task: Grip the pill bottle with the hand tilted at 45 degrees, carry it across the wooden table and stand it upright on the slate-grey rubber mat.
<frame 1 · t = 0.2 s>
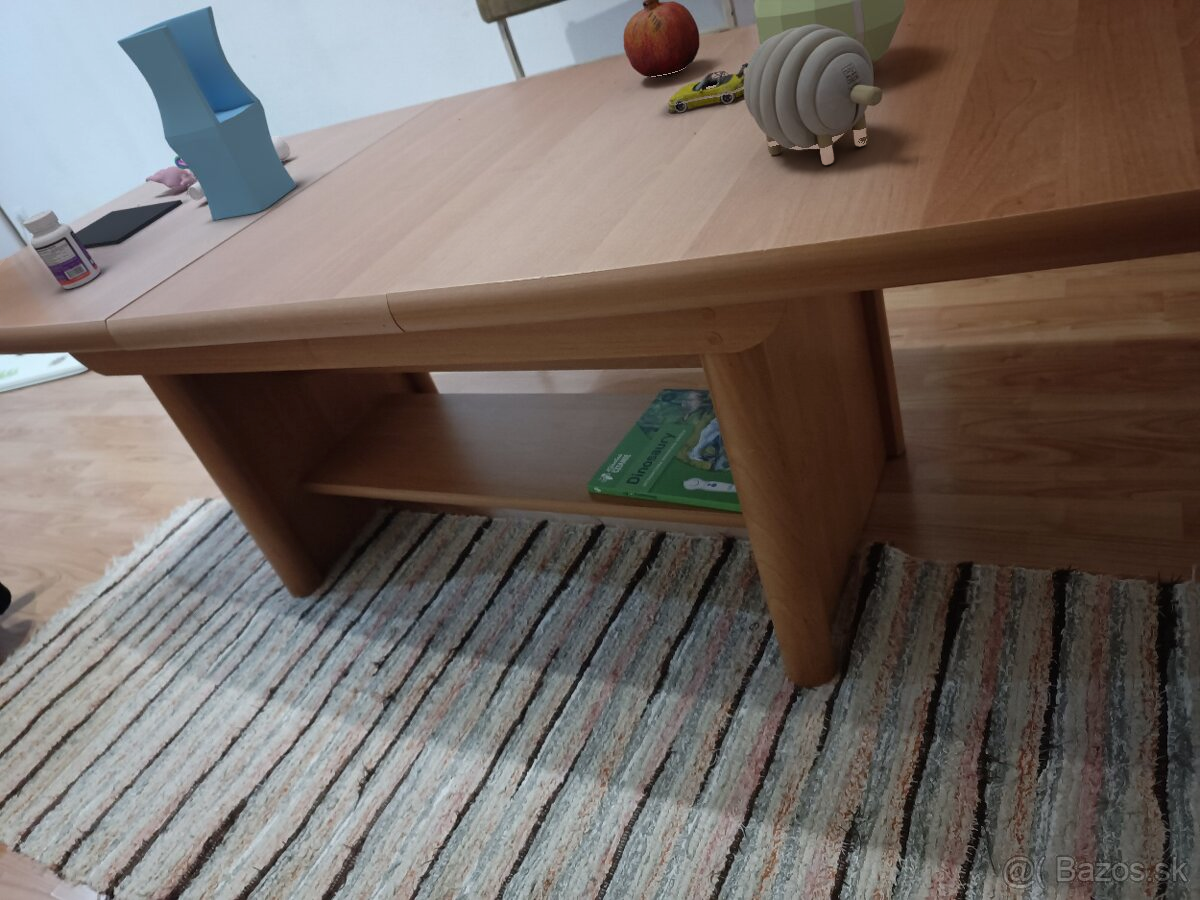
binoculars: (245, 183, 141), on the table
pill bottle: (83, 281, 122), on the table
mat: (116, 228, 142), on the table
toy car: (709, 102, 104), on the table
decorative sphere: (836, 80, 97), on the table
vase: (258, 202, 129), on the table
toy sheep: (817, 154, 82), on the table
pink figurine: (188, 189, 150), on the table
fruit: (669, 77, 118), on the table
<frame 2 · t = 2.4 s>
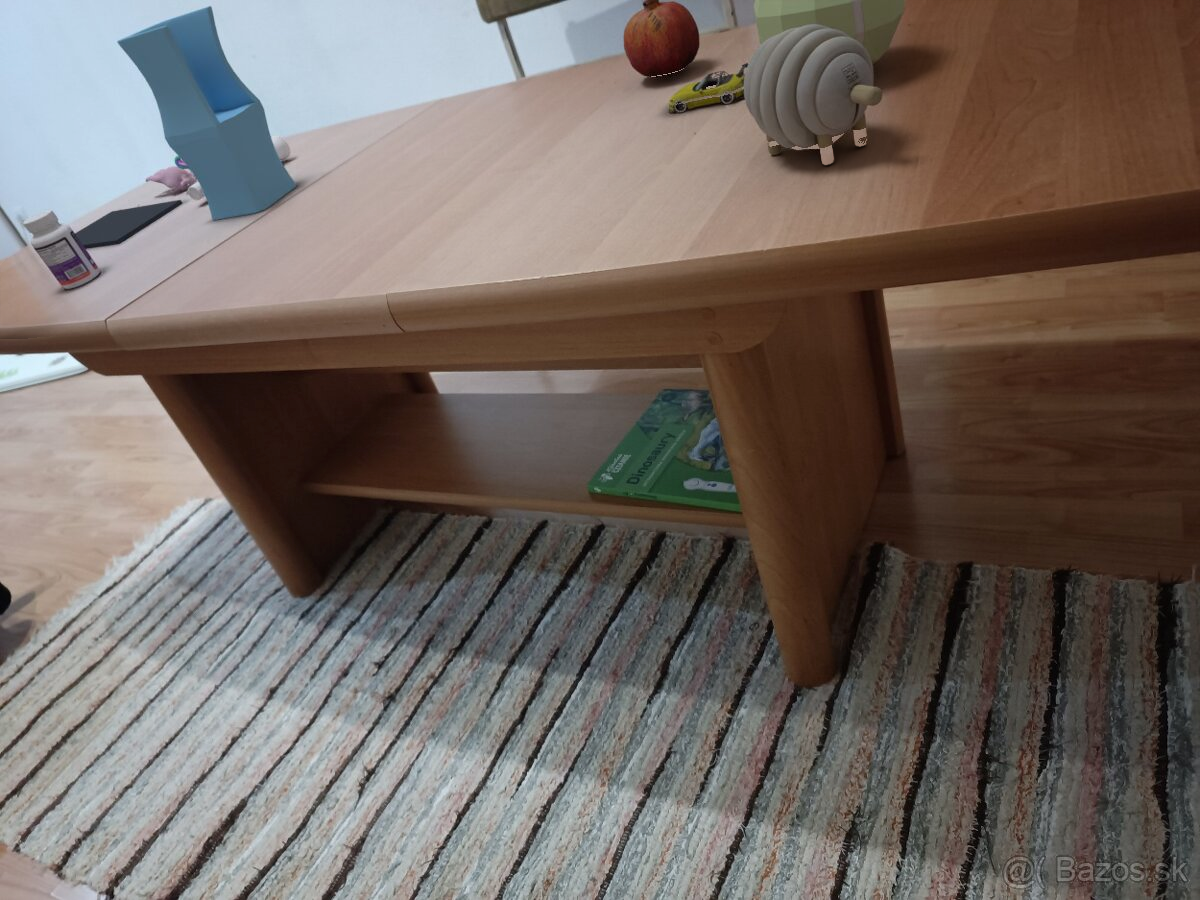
nothing on the table moved.
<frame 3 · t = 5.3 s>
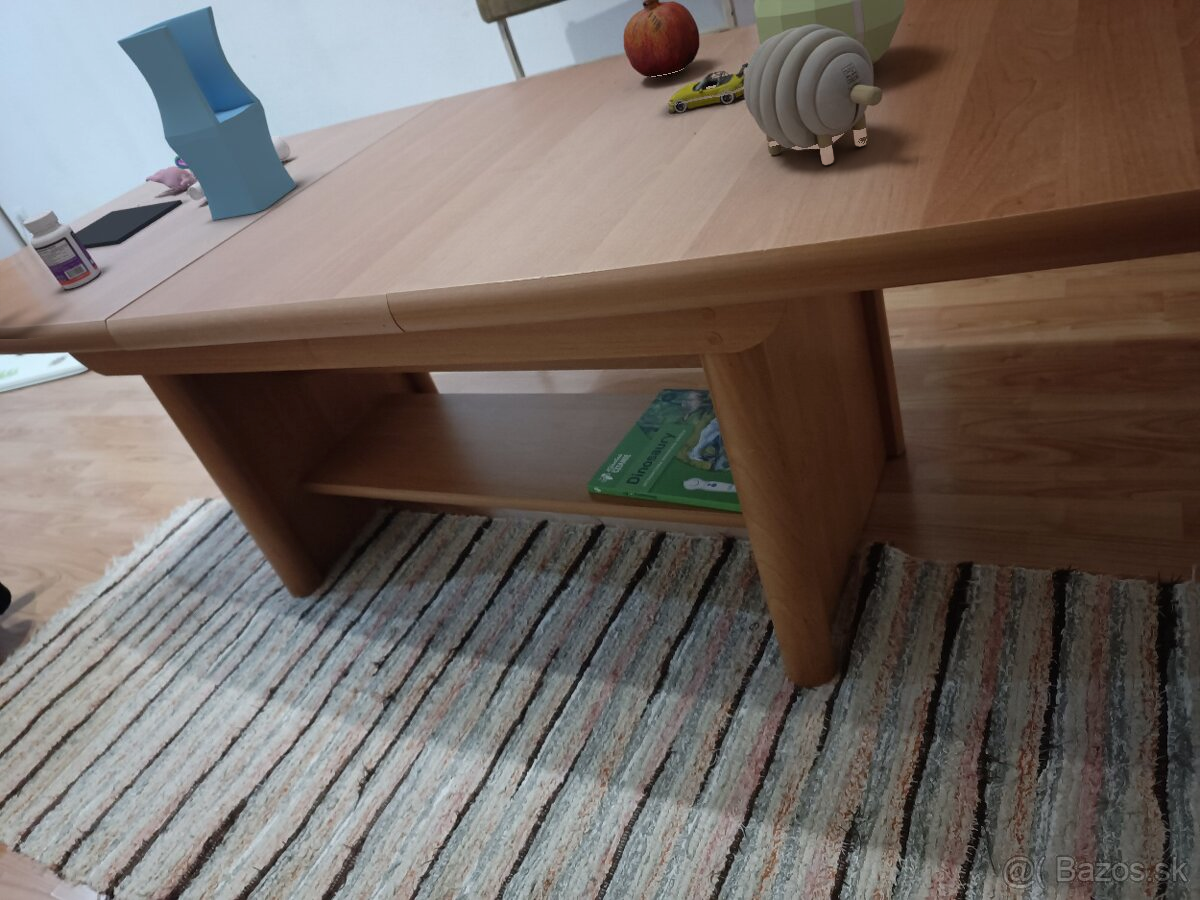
nothing on the table moved.
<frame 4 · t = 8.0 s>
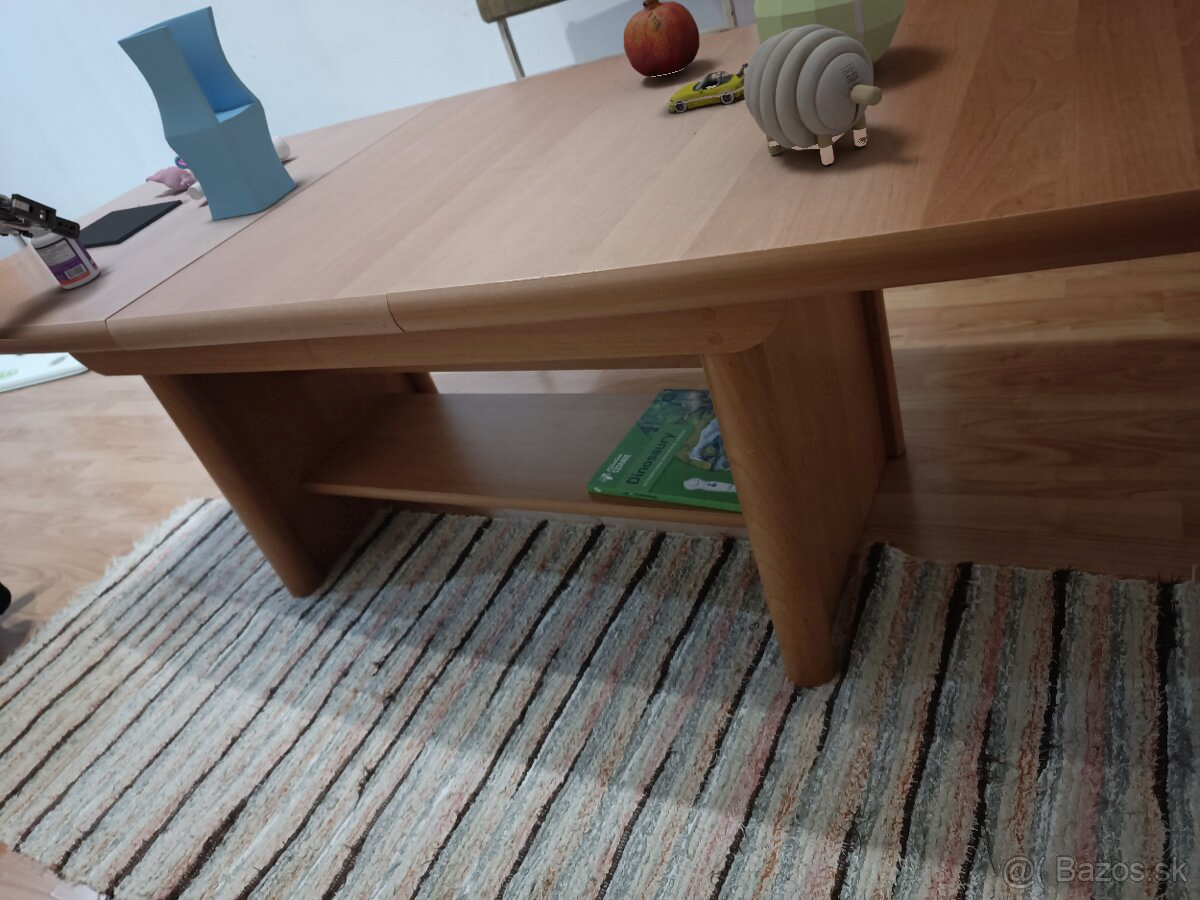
hand: (64, 234, 120), 6 cm above the table, tool tilted 45°, fingers closed on pill bottle, 5 cm apart
pill bottle: (83, 281, 122), on the table, touching gripper
everything else where it was.
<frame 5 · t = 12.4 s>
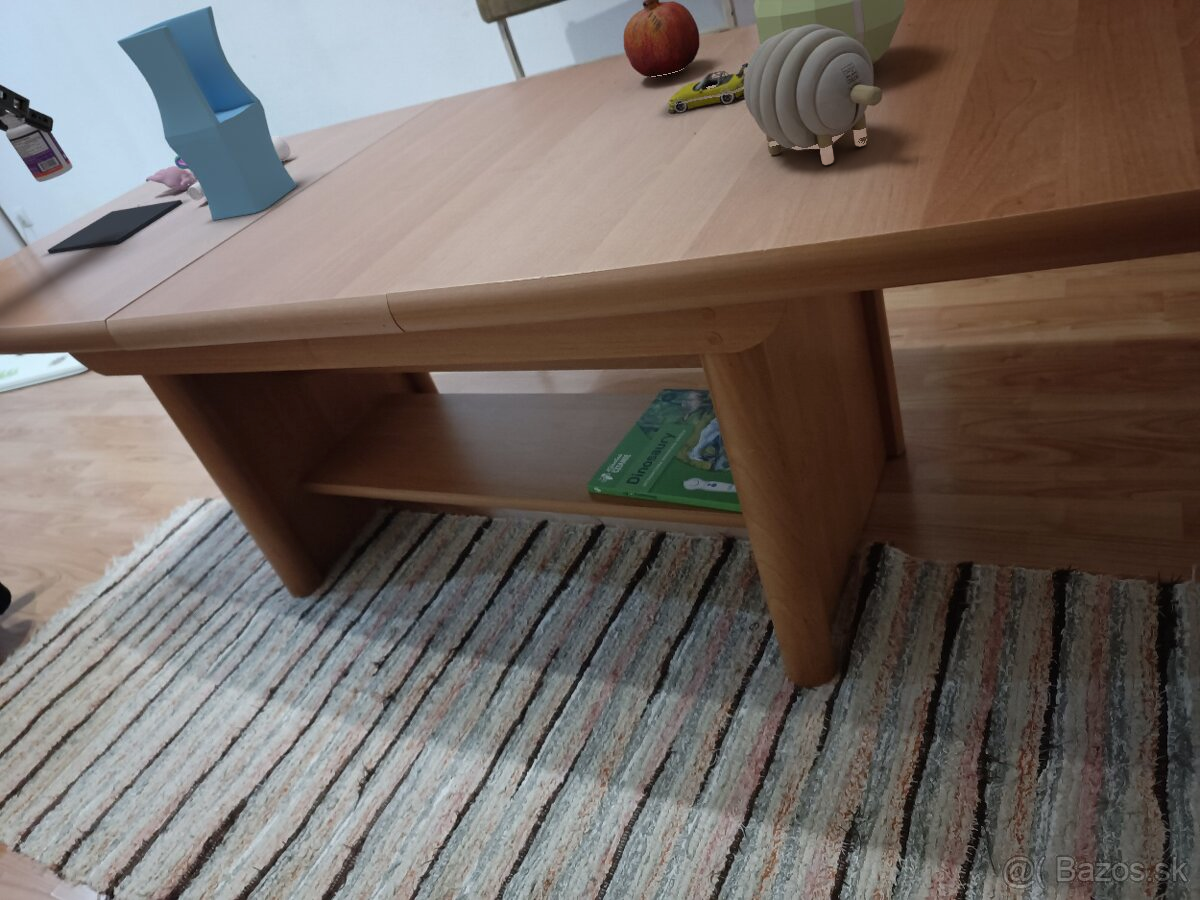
hand: (38, 128, 125), 18 cm above the table, tool tilted 45°, fingers closed on pill bottle, 5 cm apart
pill bottle: (56, 176, 128), point 11 cm above the table, touching gripper
everything else where it was.
when the fingers open (7 cm above the table, at t = 17.1 s): pill bottle stays where it is, resting on mat.
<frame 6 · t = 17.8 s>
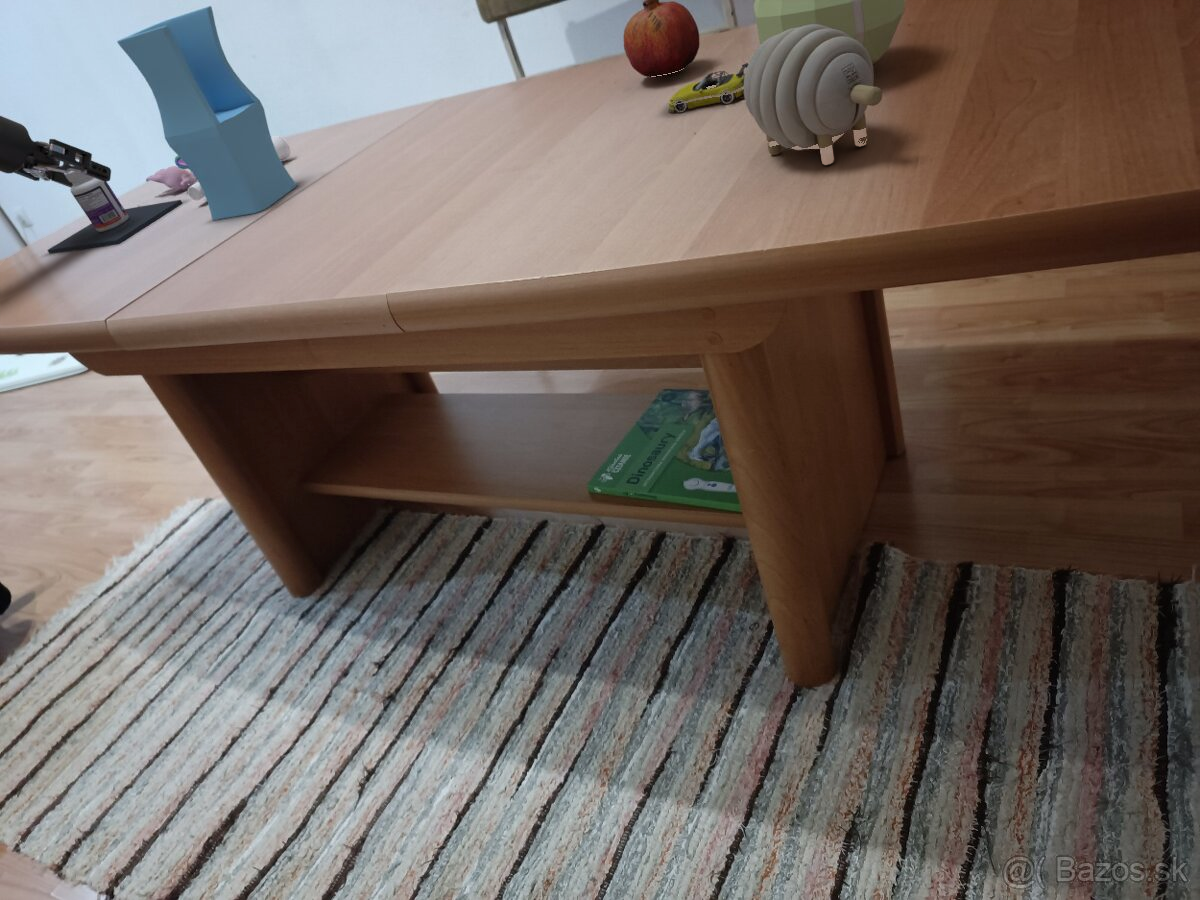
hand: (92, 178, 138), 8 cm above the table, tool tilted 45°, fingers open, 8 cm apart
pill bottle: (114, 226, 141), resting on mat
everything else where it was.
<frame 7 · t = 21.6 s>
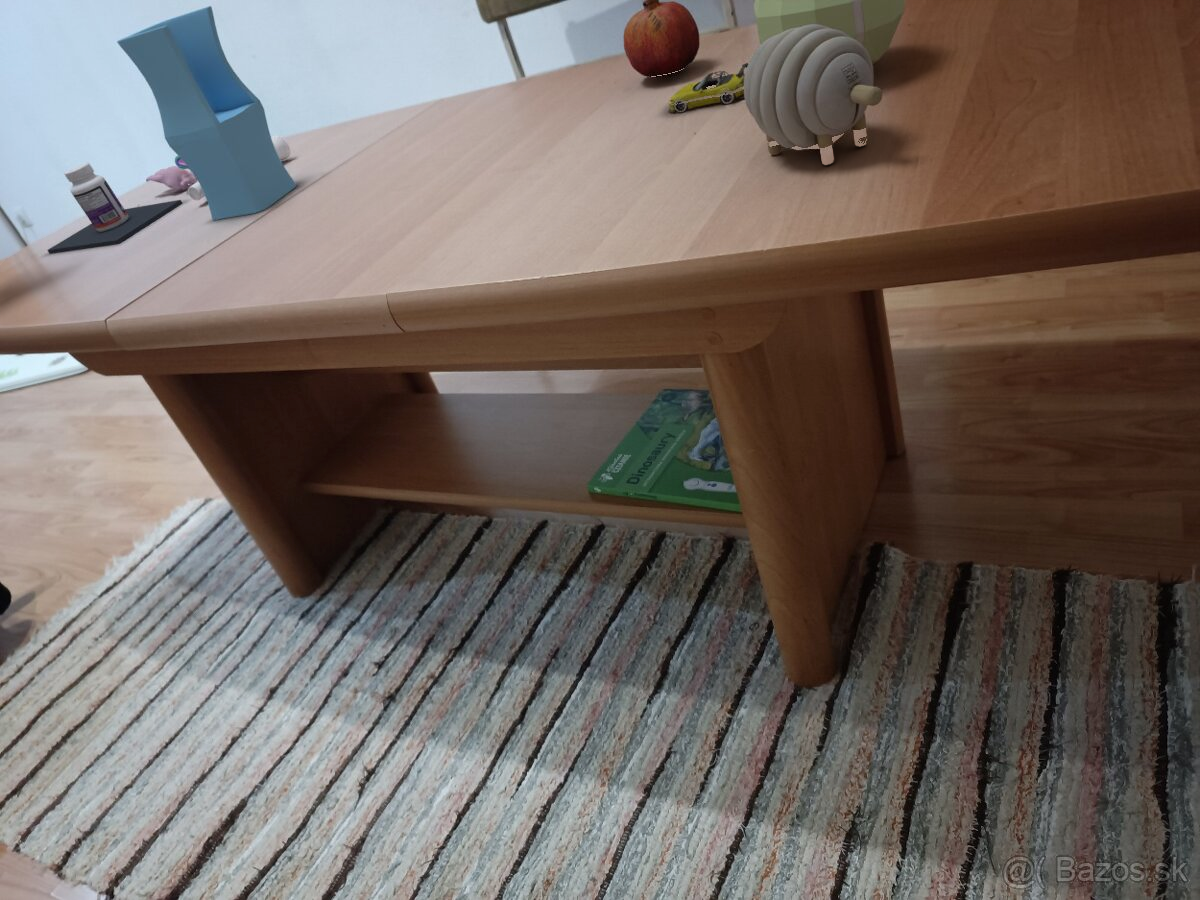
nothing on the table moved.
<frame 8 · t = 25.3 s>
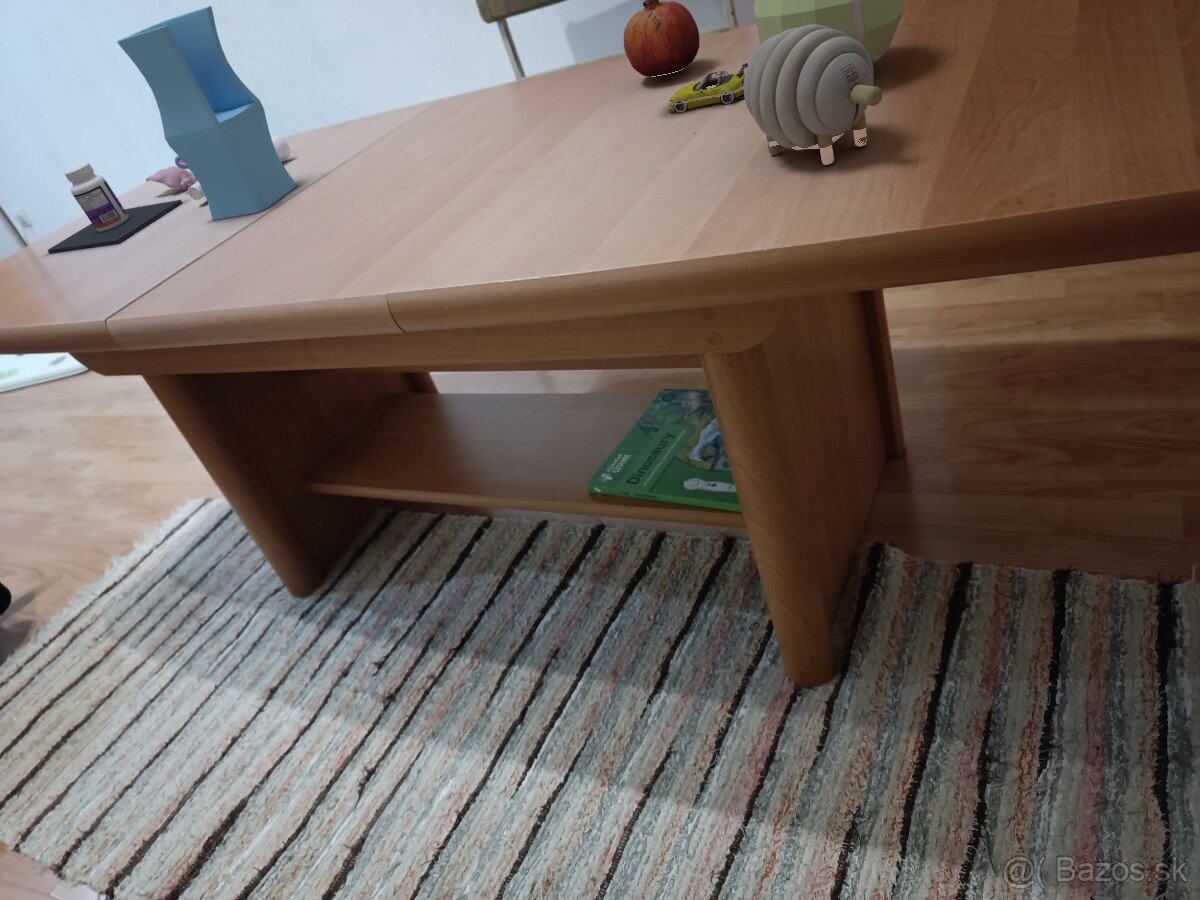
nothing on the table moved.
at the end: pill bottle inside the target area on the mat (0.1 cm from its centre), point 0.4 cm above the mat's base; pill bottle tilted 0°; the gripper is holding nothing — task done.
